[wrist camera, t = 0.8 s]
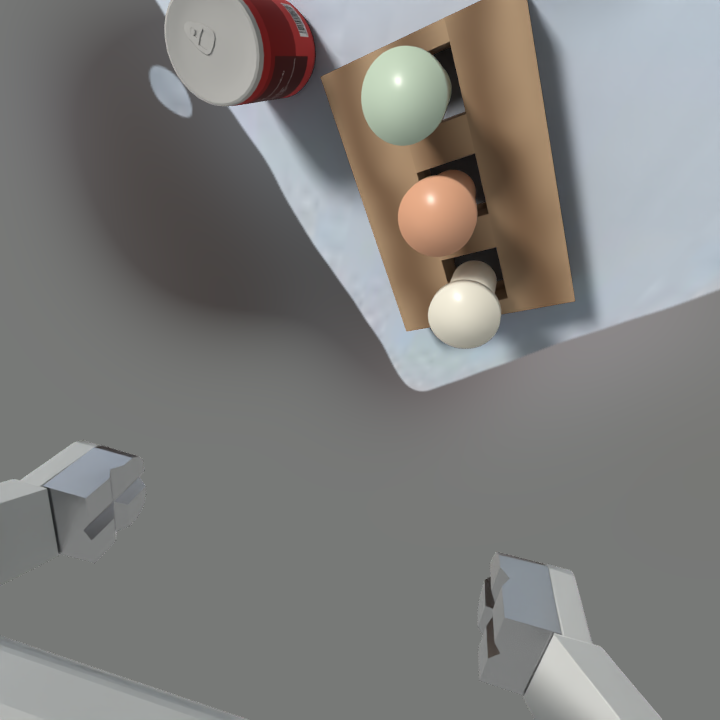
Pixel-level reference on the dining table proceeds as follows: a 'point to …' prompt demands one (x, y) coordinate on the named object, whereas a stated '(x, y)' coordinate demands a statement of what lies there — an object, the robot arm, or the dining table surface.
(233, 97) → the canned food
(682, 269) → the dining table surface
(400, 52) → the sage plunger
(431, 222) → the peach mushroom knob
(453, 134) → the walnut board
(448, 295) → the cream plunger
